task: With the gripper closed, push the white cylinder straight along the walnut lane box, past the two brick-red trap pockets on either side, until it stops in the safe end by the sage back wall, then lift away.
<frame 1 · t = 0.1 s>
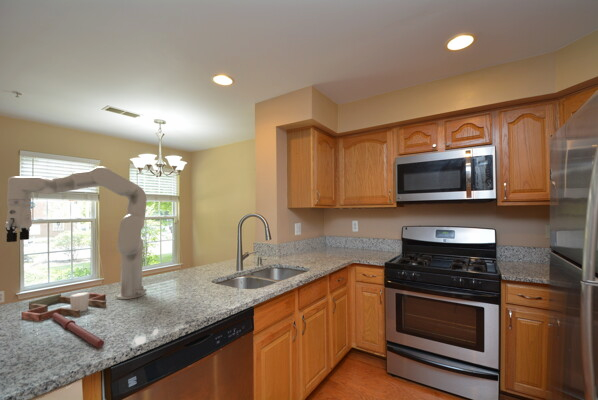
hand: (18, 240, 121), 31 cm above the worktop, tool pointing down, fingers open, 9 cm apart
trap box: (67, 308, 121), on the worktop
white cylinder: (79, 310, 118), resting in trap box
red collared rod: (74, 332, 97), on the worktop
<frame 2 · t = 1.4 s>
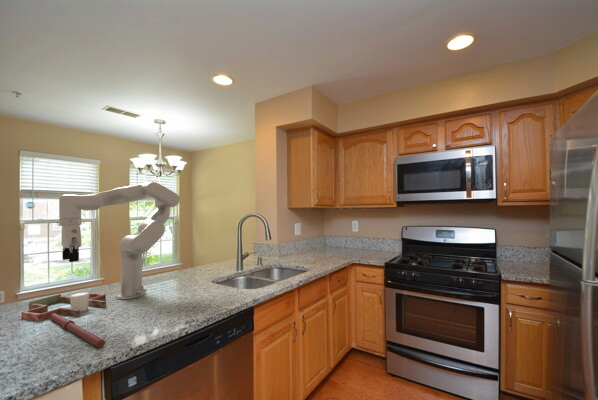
hand: (70, 260, 118), 22 cm above the worktop, tool pointing down, fingers open, 9 cm apart
nothing on the worktop moved.
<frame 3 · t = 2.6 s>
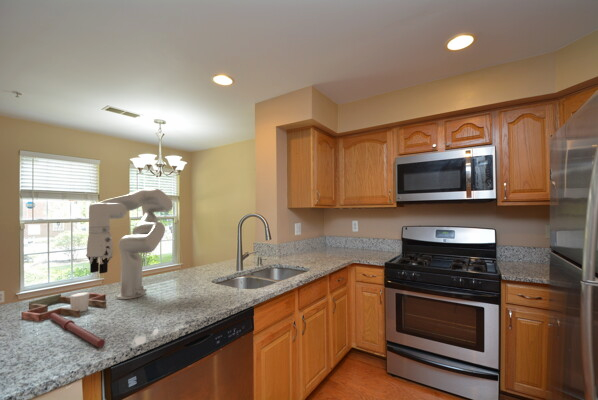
hand: (98, 272, 116), 17 cm above the worktop, tool pointing down, fingers open, 4 cm apart
nothing on the worktop moved.
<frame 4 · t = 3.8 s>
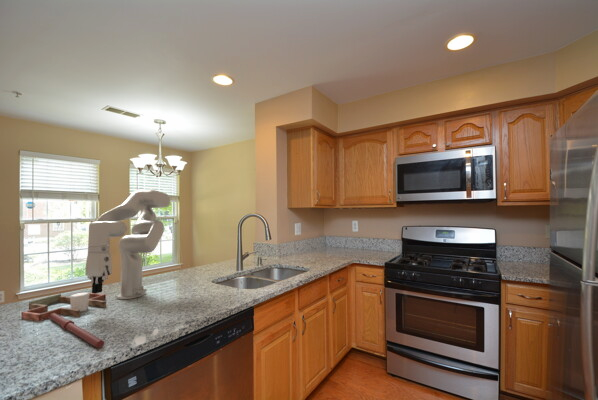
hand: (97, 292, 114), 9 cm above the worktop, tool pointing down, fingers closed
nothing on the worktop moved.
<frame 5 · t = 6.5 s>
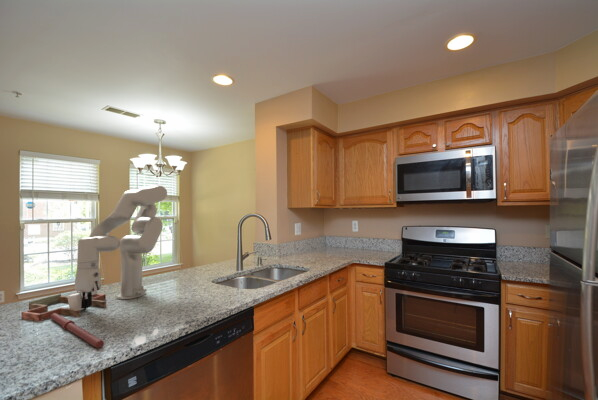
hand: (86, 307, 116), 2 cm above the worktop, tool pointing down, fingers closed
white cylinder: (78, 309, 118), resting in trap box, touching gripper
everything else where it was.
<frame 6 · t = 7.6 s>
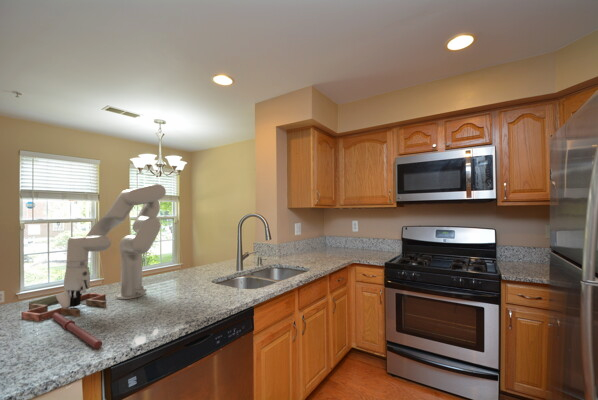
hand: (75, 305, 118), 2 cm above the worktop, tool pointing down, fingers closed
white cylinder: (71, 306, 119), point 1 cm above the worktop, touching gripper
everything else where it was.
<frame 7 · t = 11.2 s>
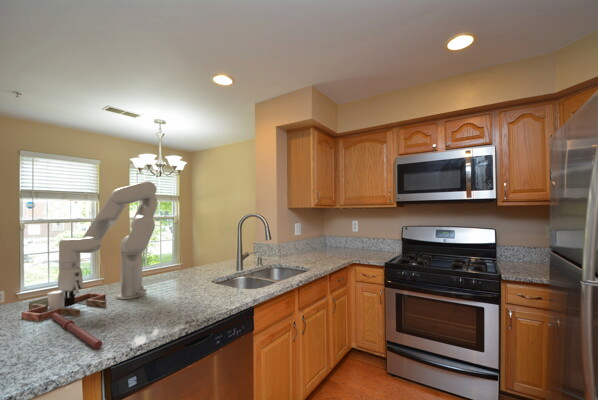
hand: (69, 305, 121), 1 cm above the worktop, tool pointing down, fingers closed
white cylinder: (57, 307, 123), resting in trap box
everything else where it was.
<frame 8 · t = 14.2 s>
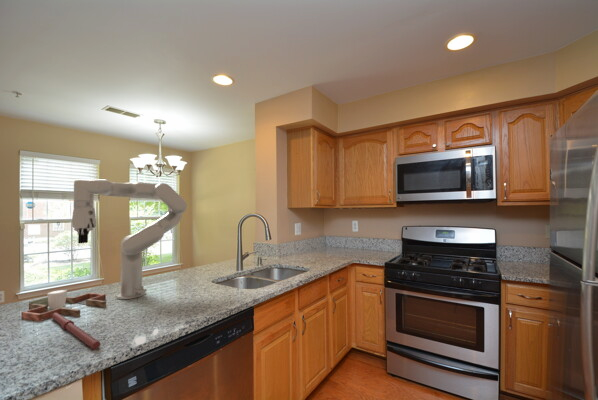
hand: (83, 242, 127), 29 cm above the worktop, tool pointing down, fingers closed
nothing on the worktop moved.
at the end: white cylinder inside the target area on the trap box (2.8 cm from its centre), point 0.0 cm above the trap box's base; white cylinder tilted 0°; white cylinder moved 14.7 cm from its start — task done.
